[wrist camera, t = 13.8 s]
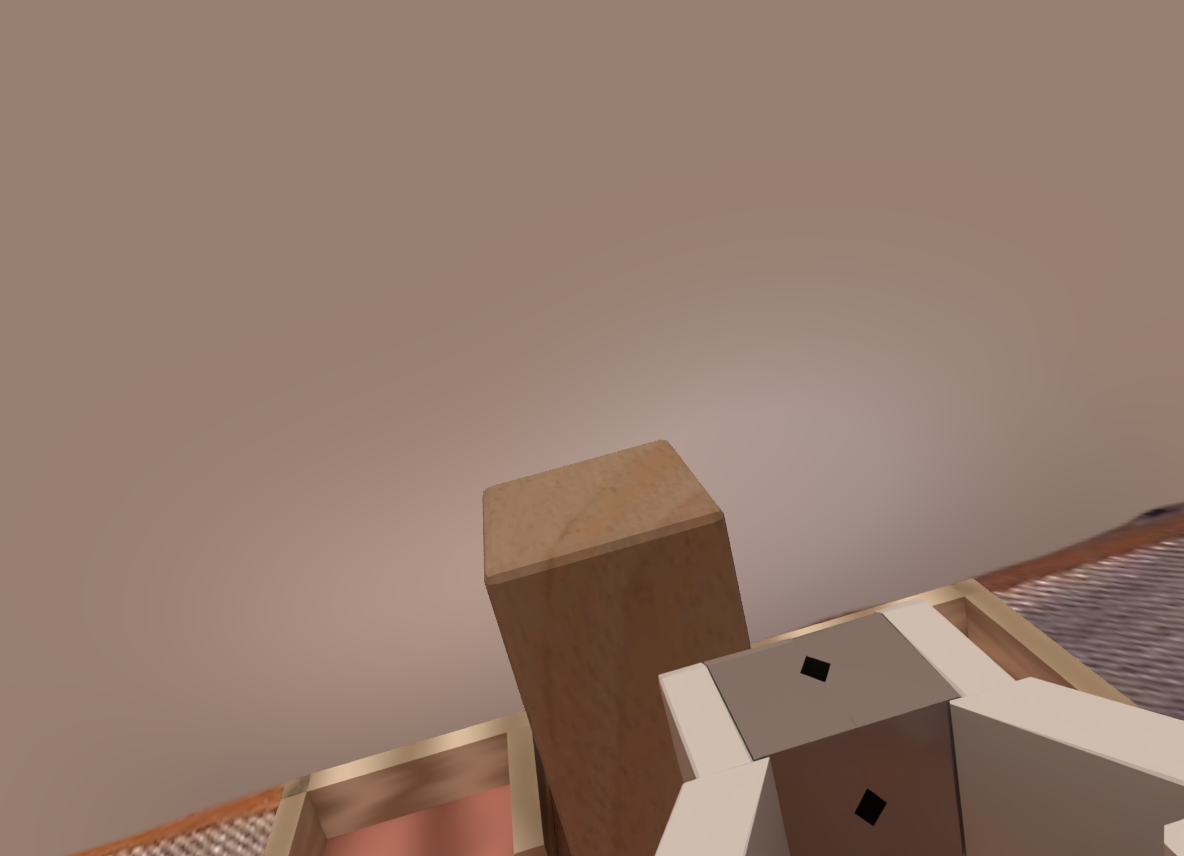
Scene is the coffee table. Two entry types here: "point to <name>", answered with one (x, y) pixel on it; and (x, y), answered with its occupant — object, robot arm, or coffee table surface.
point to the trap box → (517, 778)
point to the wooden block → (609, 628)
